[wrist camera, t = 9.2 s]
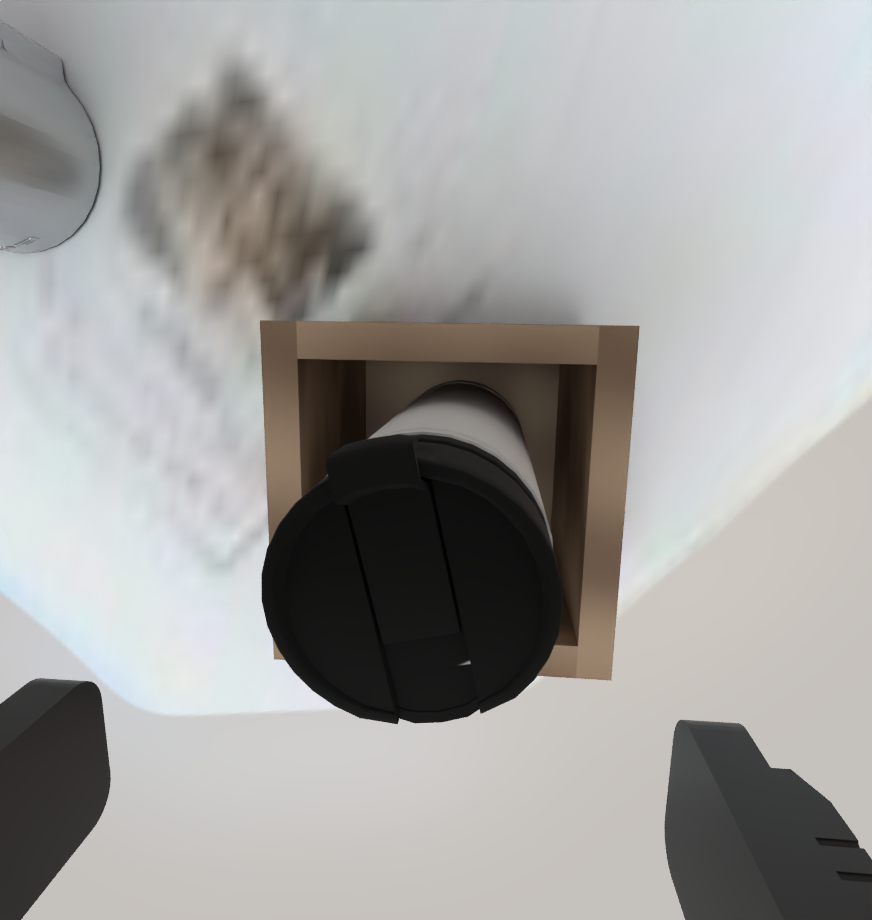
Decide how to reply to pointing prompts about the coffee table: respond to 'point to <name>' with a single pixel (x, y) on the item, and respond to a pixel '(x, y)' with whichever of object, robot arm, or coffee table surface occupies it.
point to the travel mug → (419, 566)
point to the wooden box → (524, 387)
